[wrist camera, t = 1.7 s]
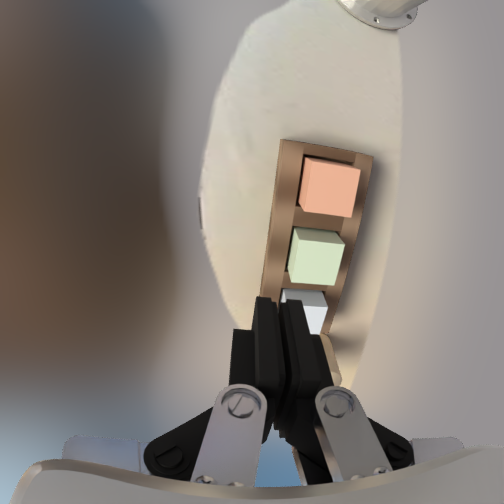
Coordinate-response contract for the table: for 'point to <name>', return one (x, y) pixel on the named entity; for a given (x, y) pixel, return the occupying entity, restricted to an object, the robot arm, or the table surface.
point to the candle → (331, 360)
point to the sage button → (314, 255)
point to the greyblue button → (308, 306)
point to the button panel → (309, 221)
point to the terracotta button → (328, 187)
